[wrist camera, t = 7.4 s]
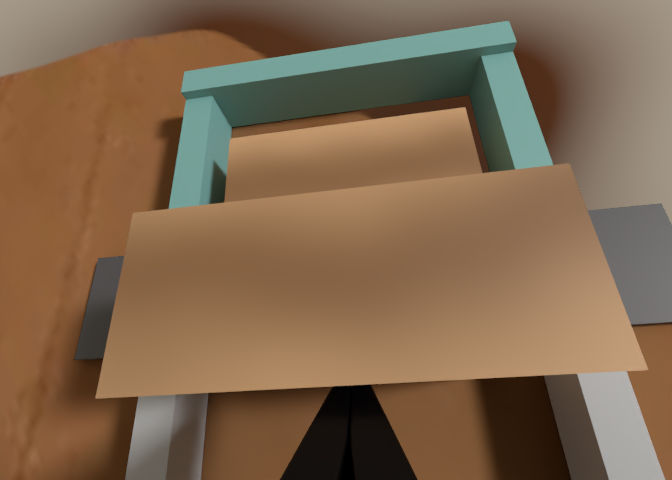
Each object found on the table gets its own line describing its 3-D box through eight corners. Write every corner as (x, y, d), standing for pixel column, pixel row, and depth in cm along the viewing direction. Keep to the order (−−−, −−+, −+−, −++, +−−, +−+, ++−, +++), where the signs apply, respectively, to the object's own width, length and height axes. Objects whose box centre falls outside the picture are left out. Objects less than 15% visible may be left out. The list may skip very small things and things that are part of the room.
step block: (502, 371, 13) (647, 370, 6) (241, 386, 15) (95, 398, 7) (452, 148, 18) (502, -13, 10) (252, 173, 19) (167, 43, 11)
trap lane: (953, 856, 8) (1244, 1102, 5) (-12, 776, 11) (-144, 911, 8) (583, 58, 19) (617, 3, 16) (137, 121, 21) (100, 84, 19)
